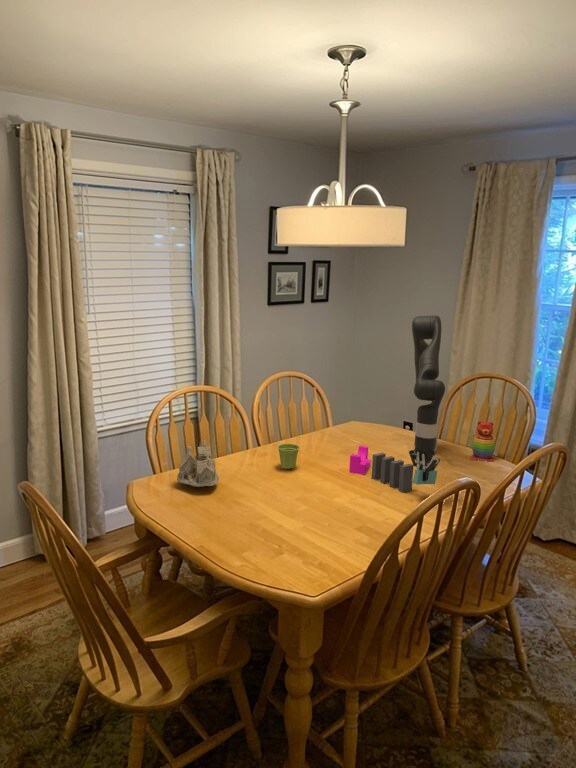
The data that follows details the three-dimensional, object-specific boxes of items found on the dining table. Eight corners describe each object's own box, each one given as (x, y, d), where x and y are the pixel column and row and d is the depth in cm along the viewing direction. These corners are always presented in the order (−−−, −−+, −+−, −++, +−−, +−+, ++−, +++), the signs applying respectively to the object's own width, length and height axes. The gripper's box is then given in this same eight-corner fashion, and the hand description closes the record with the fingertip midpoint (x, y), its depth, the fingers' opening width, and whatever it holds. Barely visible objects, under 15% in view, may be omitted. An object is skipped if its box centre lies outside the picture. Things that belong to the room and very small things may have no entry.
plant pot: (273, 468, 233) (273, 448, 231) (282, 461, 241) (282, 442, 240) (294, 471, 229) (294, 451, 228) (302, 464, 238) (303, 445, 236)
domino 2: (380, 482, 220) (381, 458, 218) (389, 479, 223) (391, 456, 221) (383, 483, 219) (385, 459, 217) (393, 481, 222) (394, 457, 220)
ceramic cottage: (178, 474, 223) (178, 438, 220) (220, 474, 224) (220, 438, 221) (173, 489, 208) (172, 451, 205) (217, 489, 209) (217, 451, 206)
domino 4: (398, 490, 212) (400, 465, 210) (407, 488, 215) (409, 463, 213) (402, 492, 211) (404, 467, 209) (411, 490, 214) (413, 465, 212)
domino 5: (430, 482, 210) (412, 482, 204) (433, 469, 209) (415, 469, 203) (434, 484, 208) (416, 484, 202) (437, 471, 207) (419, 471, 202)
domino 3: (389, 486, 216) (390, 461, 214) (398, 484, 219) (400, 459, 217) (392, 488, 215) (394, 463, 213) (402, 485, 218) (404, 461, 216)
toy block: (364, 475, 228) (365, 457, 227) (349, 473, 230) (350, 455, 229) (373, 464, 242) (374, 447, 240) (358, 461, 244) (359, 445, 242)
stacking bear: (468, 462, 246) (472, 423, 243) (469, 455, 256) (473, 418, 252) (494, 466, 243) (499, 426, 239) (495, 459, 252) (499, 420, 248)
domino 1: (371, 478, 224) (372, 454, 222) (380, 476, 227) (382, 452, 225) (374, 480, 223) (376, 456, 221) (384, 477, 225) (385, 454, 223)
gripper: (447, 437, 198) (443, 484, 202) (418, 428, 209) (415, 472, 213) (433, 440, 194) (429, 488, 197) (404, 431, 205) (401, 475, 209)
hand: (422, 479), depth 205 cm, fingers closed on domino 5
